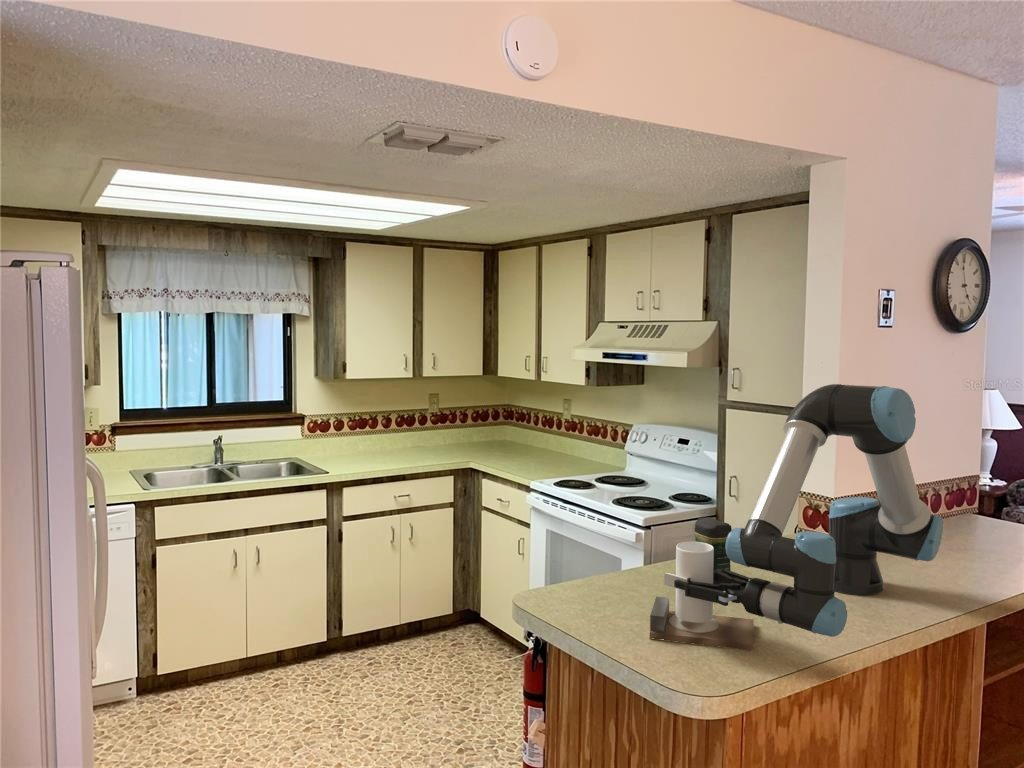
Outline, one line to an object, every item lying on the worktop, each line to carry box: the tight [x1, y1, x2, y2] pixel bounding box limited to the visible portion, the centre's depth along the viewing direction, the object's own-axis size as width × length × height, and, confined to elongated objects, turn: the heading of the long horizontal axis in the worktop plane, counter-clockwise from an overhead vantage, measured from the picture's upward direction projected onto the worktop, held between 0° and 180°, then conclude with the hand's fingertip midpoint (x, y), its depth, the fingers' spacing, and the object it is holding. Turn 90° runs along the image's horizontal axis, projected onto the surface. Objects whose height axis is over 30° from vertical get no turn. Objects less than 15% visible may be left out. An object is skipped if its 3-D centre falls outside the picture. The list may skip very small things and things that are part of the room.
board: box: [649, 596, 755, 651], centre depth 174 cm, size 22×14×5 cm, turn 73°
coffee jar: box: [693, 516, 733, 591], centre depth 200 cm, size 10×8×19 cm
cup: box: [674, 541, 714, 623], centre depth 174 cm, size 8×8×16 cm
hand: (676, 574), depth 178 cm, fingers closed on cup, 8 cm apart
